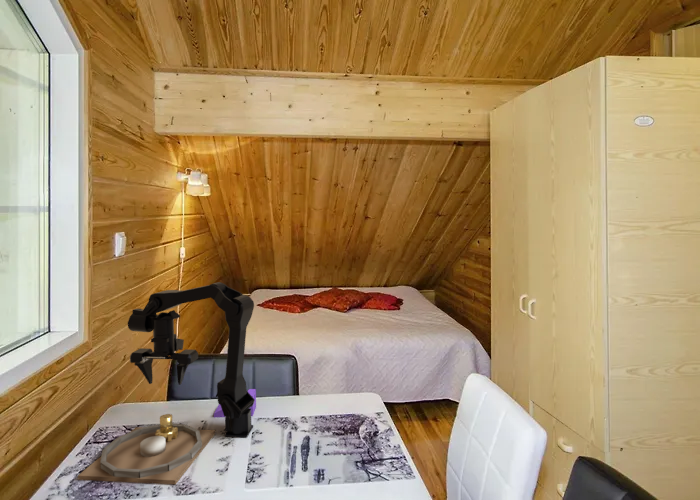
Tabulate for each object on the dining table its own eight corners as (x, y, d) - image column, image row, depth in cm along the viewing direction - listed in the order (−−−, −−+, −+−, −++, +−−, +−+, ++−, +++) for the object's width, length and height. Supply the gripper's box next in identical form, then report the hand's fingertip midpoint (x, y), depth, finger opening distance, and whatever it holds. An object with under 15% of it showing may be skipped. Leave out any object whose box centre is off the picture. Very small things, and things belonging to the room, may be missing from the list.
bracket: (256, 407, 143) (255, 387, 142) (252, 417, 136) (252, 395, 135) (219, 408, 142) (218, 388, 141) (213, 418, 135) (213, 396, 135)
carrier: (215, 433, 125) (215, 421, 125) (175, 484, 101) (175, 470, 101) (135, 430, 127) (135, 418, 127) (78, 479, 103) (77, 465, 103)
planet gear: (181, 432, 123) (180, 412, 123) (171, 443, 118) (170, 422, 117) (162, 431, 124) (161, 411, 123) (151, 442, 118) (150, 421, 118)
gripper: (205, 326, 137) (206, 375, 138) (148, 325, 139) (150, 373, 140) (189, 336, 126) (190, 388, 127) (127, 335, 127) (129, 386, 129)
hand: (165, 383), depth 131 cm, fingers open, 9 cm apart
